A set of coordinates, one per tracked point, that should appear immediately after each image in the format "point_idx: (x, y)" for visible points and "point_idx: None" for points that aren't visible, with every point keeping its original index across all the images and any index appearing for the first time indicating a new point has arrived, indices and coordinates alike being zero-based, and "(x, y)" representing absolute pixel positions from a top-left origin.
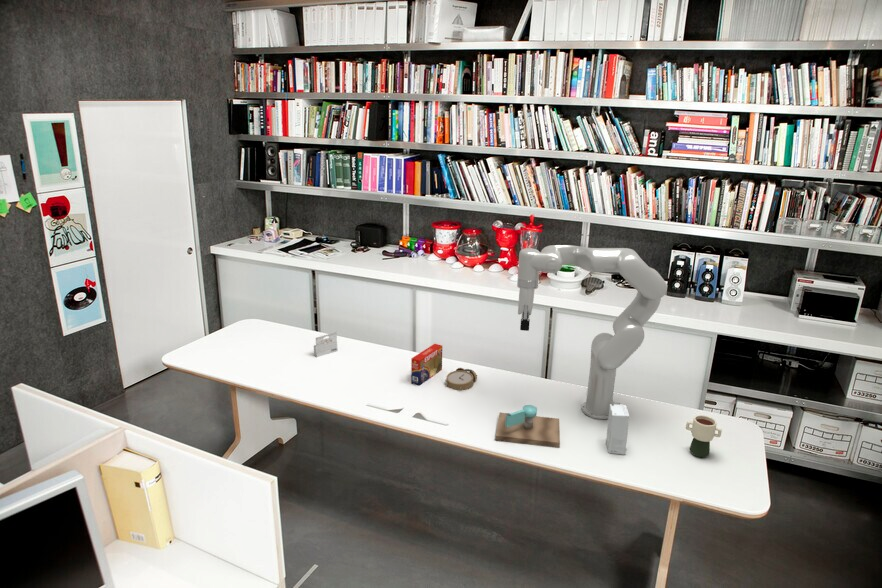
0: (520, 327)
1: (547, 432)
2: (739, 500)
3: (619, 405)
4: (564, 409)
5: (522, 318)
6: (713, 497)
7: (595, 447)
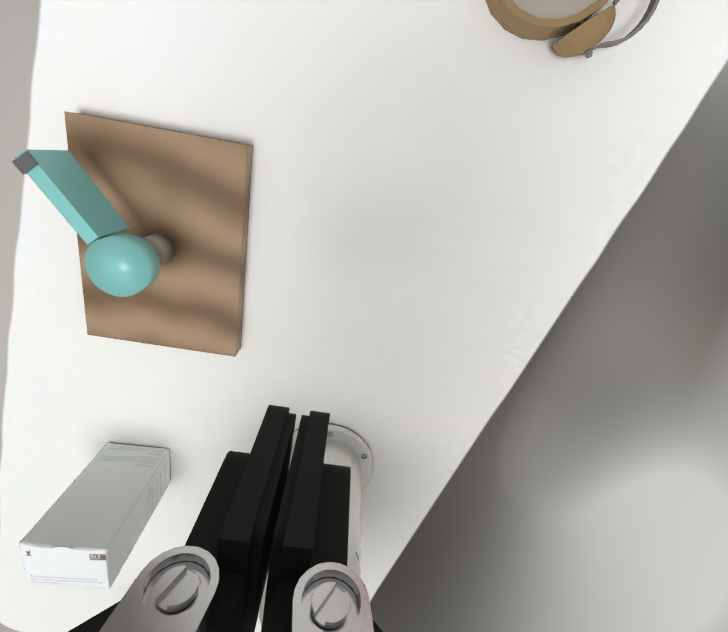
0: (263, 426)
1: (138, 307)
2: (14, 607)
3: (100, 573)
4: (328, 378)
5: (109, 630)
6: (6, 577)
7: (129, 418)
